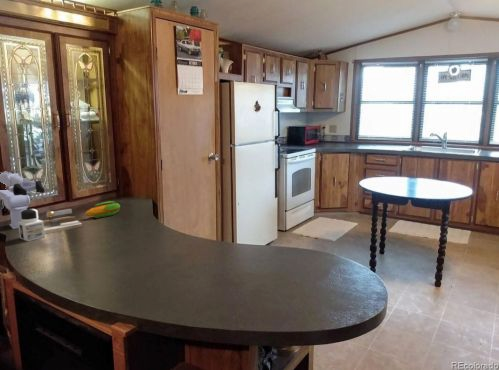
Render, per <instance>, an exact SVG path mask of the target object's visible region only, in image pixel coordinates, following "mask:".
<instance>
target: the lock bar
mask: <svg viewBox="0 0 499 370" xmlns="http://www.w3.org/2000/svg"><path fill="white" fill-rule="evenodd" d="M68 214H69V215H71V214H73V209H72V208H67V209H61V210H50V211H48V210H47V211H46V218H48V217H53V218H54V217H57V216H64V215H68Z"/></svg>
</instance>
